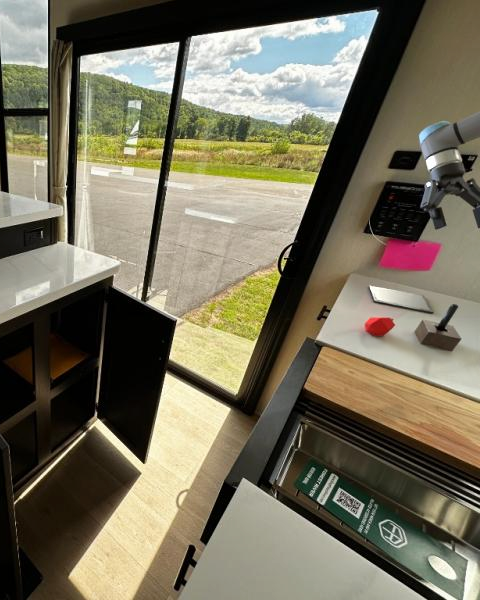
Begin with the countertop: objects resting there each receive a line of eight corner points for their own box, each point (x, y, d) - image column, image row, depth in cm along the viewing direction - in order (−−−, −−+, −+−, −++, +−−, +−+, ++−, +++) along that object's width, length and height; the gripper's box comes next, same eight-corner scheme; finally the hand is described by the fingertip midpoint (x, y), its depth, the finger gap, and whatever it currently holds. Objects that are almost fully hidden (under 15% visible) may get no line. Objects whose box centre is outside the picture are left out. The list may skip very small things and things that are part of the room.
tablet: (422, 296, 124) (424, 295, 124) (432, 313, 115) (434, 312, 114) (368, 286, 132) (369, 285, 131) (373, 302, 122) (374, 300, 122)
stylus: (434, 340, 103) (458, 303, 97) (436, 342, 102) (460, 306, 96) (428, 339, 104) (451, 302, 97) (429, 341, 103) (453, 304, 96)
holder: (444, 337, 104) (453, 325, 101) (451, 351, 99) (461, 339, 96) (414, 331, 107) (422, 319, 104) (420, 344, 102) (429, 331, 99)
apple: (376, 326, 102) (402, 317, 101) (358, 317, 108) (383, 308, 107) (377, 343, 104) (403, 334, 103) (360, 333, 110) (384, 325, 109)
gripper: (469, 173, 109) (487, 230, 104) (396, 175, 109) (411, 233, 105) (497, 159, 101) (518, 220, 97) (418, 162, 102) (435, 222, 97)
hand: (462, 227), depth 101 cm, fingers open, 13 cm apart
